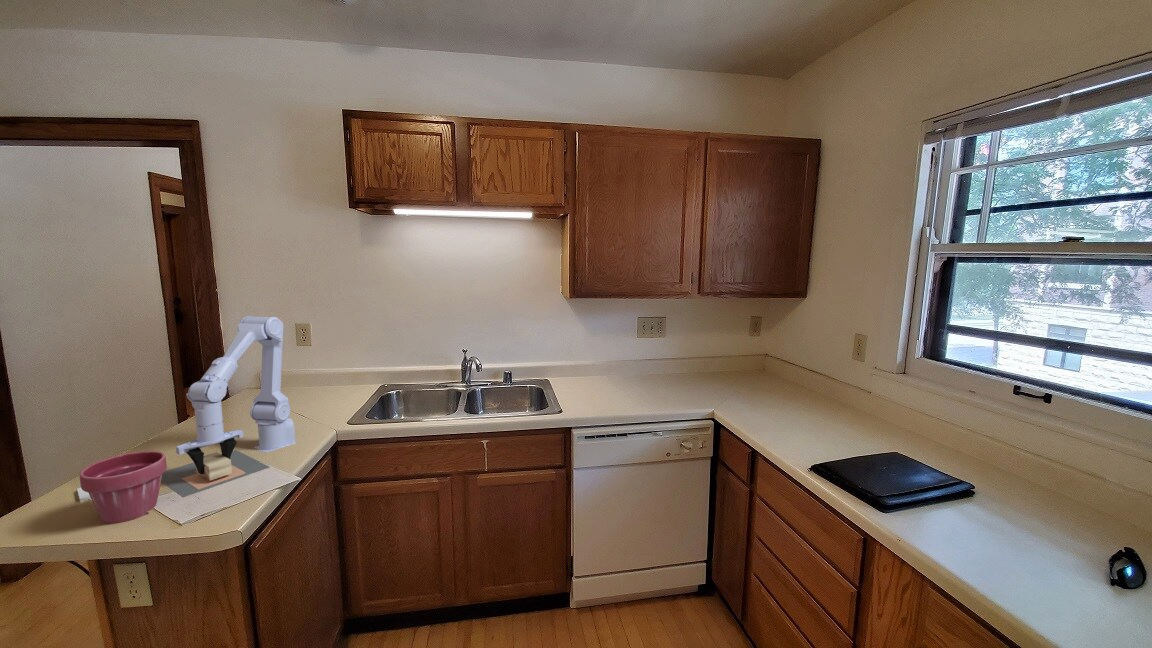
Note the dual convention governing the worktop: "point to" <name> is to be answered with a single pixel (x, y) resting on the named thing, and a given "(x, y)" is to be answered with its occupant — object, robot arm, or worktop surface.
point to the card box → (216, 466)
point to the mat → (192, 482)
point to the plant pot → (124, 484)
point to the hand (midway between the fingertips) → (213, 469)
